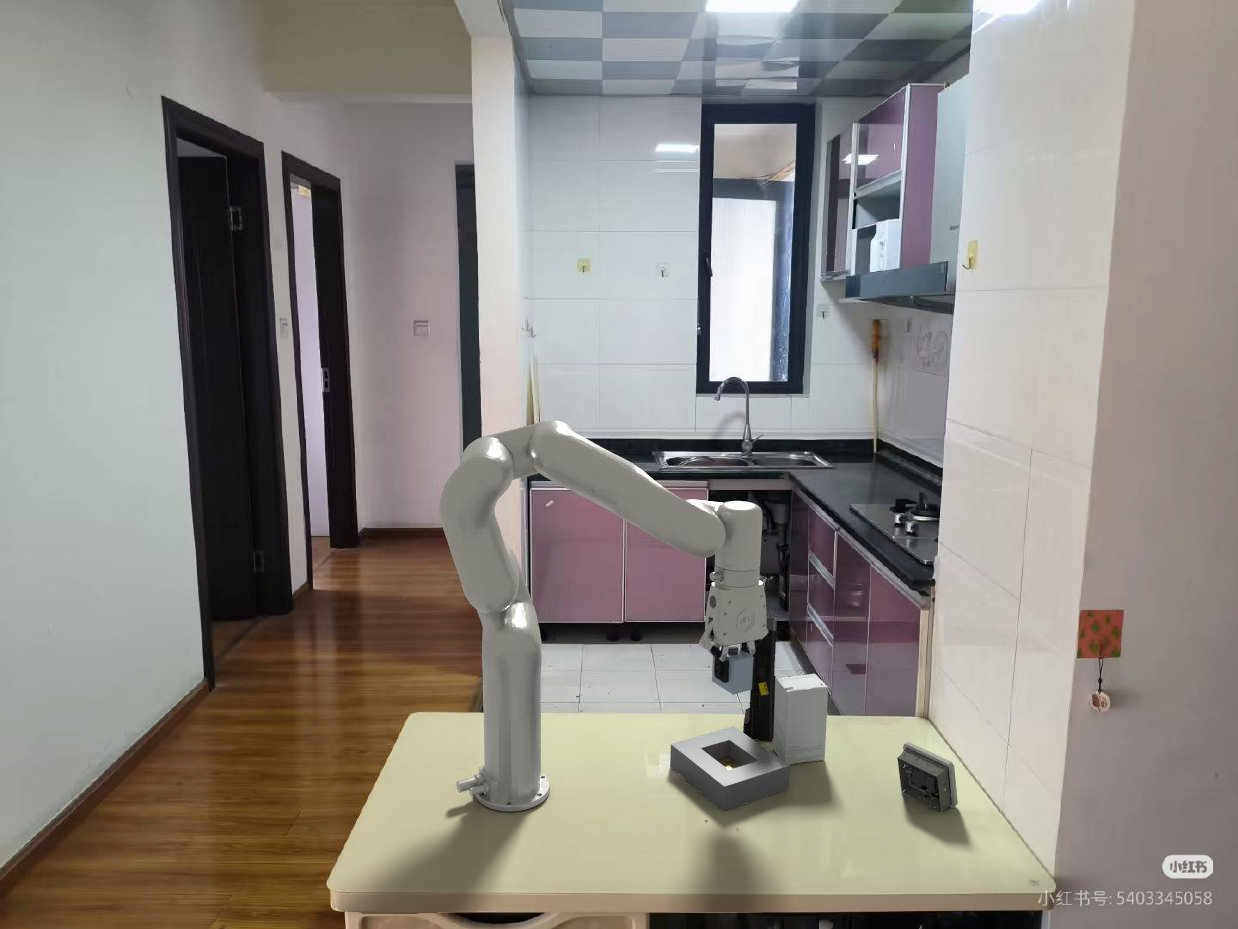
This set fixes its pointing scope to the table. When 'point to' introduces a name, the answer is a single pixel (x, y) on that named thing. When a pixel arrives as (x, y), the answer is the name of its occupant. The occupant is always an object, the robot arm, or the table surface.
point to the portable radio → (762, 688)
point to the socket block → (729, 767)
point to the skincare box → (800, 718)
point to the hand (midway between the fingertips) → (732, 676)
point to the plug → (737, 671)
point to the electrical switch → (927, 777)
